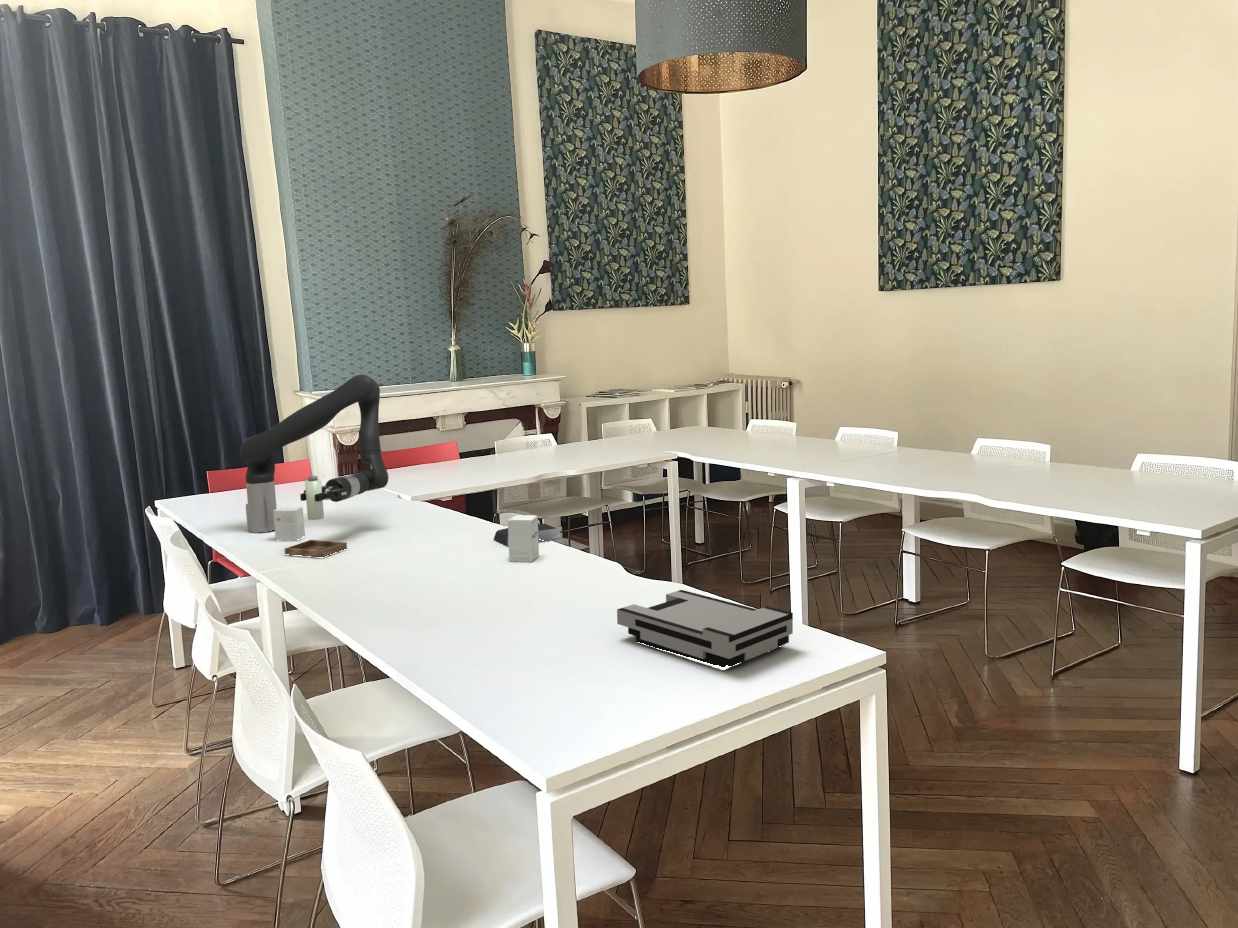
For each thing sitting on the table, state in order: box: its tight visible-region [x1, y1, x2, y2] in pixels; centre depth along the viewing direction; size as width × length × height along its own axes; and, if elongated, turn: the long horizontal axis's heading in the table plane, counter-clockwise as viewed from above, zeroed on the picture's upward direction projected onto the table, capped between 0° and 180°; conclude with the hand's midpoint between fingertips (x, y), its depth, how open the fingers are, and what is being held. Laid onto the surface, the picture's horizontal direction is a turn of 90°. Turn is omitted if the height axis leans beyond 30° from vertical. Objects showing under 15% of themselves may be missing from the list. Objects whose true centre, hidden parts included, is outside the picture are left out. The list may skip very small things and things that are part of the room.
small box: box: [273, 506, 306, 541], centre depth 316 cm, size 8×6×10 cm
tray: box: [284, 539, 348, 557], centre depth 297 cm, size 14×12×2 cm
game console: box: [616, 589, 794, 667], centre depth 205 cm, size 21×32×8 cm, turn 43°
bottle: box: [304, 475, 325, 521], centre depth 295 cm, size 5×5×13 cm
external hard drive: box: [493, 523, 563, 548], centre depth 308 cm, size 13×19×4 cm
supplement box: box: [507, 514, 540, 563], centre depth 282 cm, size 7×7×13 cm
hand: (308, 497), depth 293 cm, fingers closed on bottle, 4 cm apart
